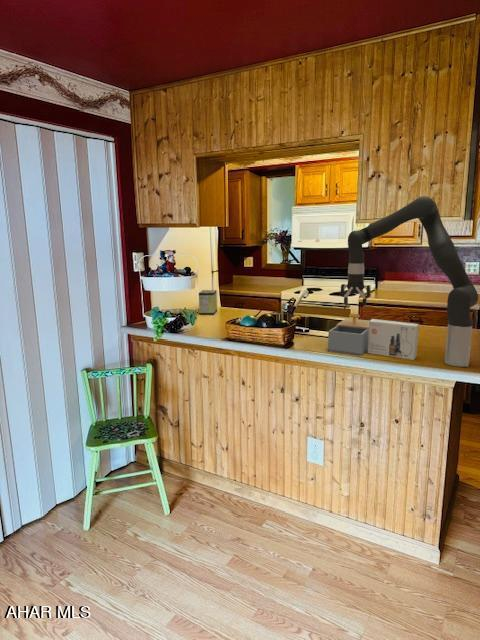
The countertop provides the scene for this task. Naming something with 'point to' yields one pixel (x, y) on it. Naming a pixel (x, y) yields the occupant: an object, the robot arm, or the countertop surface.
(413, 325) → the skincare box
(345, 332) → the carton
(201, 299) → the protein box
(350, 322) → the carton lid
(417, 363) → the countertop surface
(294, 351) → the countertop surface
